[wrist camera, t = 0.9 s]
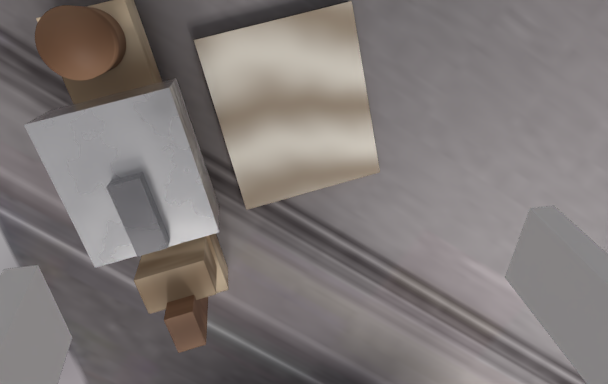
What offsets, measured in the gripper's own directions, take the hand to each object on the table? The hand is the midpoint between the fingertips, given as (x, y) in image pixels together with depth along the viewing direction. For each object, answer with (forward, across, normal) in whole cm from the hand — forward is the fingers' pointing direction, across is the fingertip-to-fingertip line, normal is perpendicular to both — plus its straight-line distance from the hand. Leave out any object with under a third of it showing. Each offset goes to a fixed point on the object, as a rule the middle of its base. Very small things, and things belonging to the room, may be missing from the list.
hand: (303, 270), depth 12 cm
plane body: (+24, +8, +9) cm, 26 cm away
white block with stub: (+20, +8, +7) cm, 23 cm away
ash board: (+24, -3, +6) cm, 25 cm away
